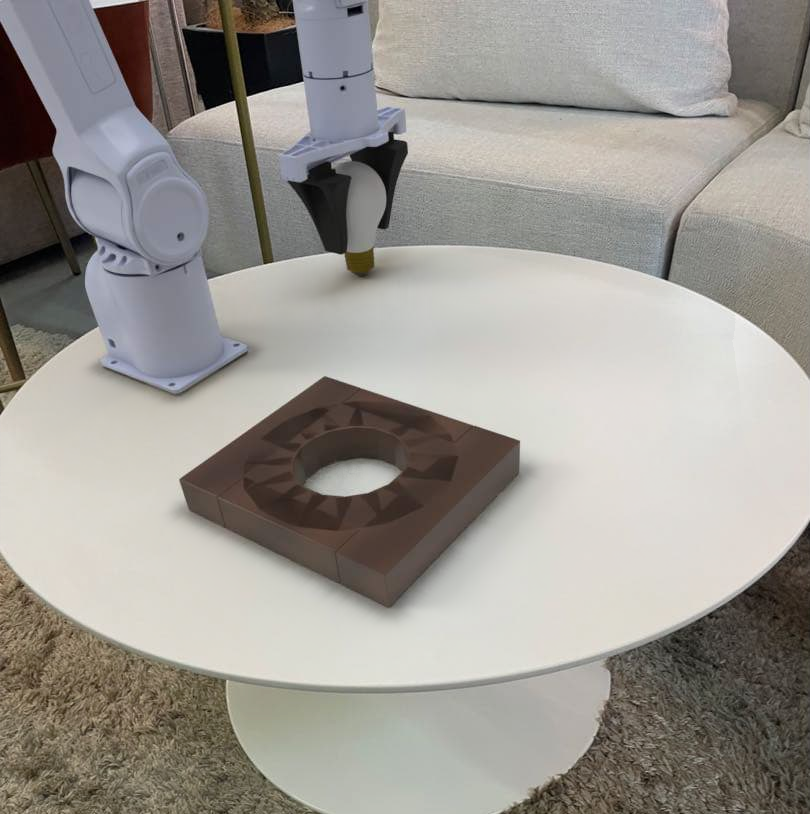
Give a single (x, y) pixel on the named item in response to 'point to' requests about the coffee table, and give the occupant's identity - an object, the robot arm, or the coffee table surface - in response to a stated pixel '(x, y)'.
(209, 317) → the robot arm
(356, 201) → the light bulb
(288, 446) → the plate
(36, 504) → the coffee table surface
